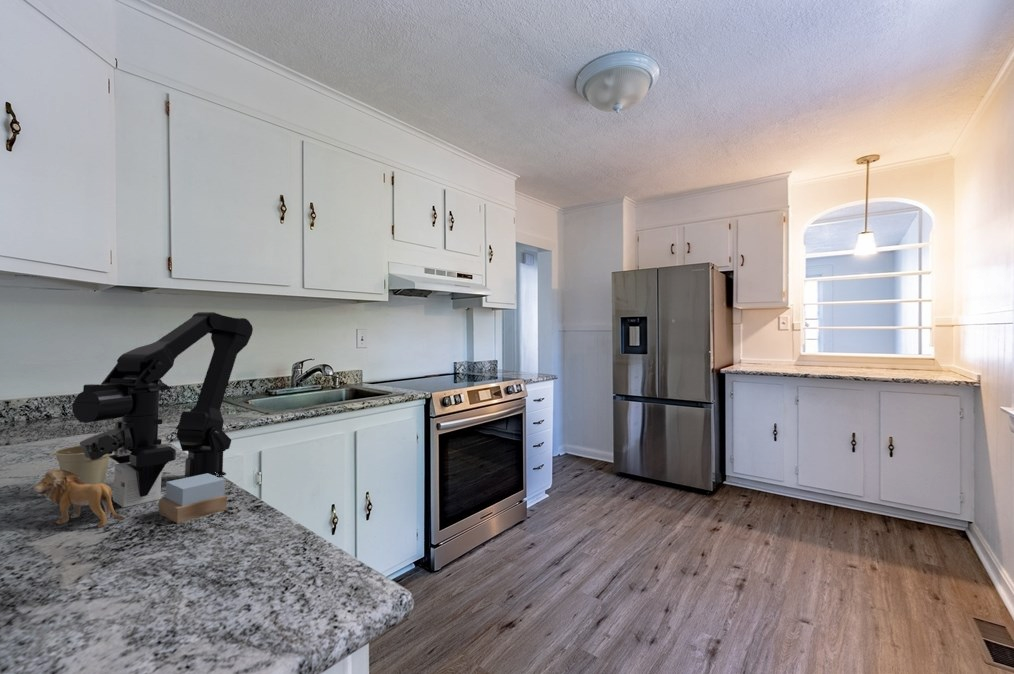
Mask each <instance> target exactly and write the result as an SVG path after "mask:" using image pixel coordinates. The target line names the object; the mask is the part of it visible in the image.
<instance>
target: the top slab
mask: <svg viewBox="0 0 1014 674" xmlns="http://www.w3.org/2000/svg"><path fill="white" fill-rule="evenodd" d="M225 493H226V479H224V478H221V477H220V476H218V477H217V476H214V475H211V474H208V473H207V474H202V475H197V476H192V477H188V478H186V477H183V478H179V479H173V480H169V481H166V483H165V498H167V499H169V500H171V501H173V502H175V503H177V504H179V505H181V506H184V505H188V504H192V503H196V502H200V501H204V500H208V499H212V498H216V497H219V496H223V495H225V496H226V494H225Z"/></svg>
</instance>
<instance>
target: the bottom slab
mask: <svg viewBox="0 0 1014 674" xmlns="http://www.w3.org/2000/svg"><path fill="white" fill-rule="evenodd" d="M227 501H228V496H227V495H226V494H225V495H223V496H219V497H216V498H212V499H208V500H204V501H200V502H196V503H192V504H188V505H184V506H181V505H179V504H177V503H175V502H173V501H171V500H169V499H167V498H166V497H164V498H160V499H159V500H158V514H159V515H160V516H162V517H165V518H166V519H168V520H171V521H172V522H174V523H176V524H180V523H184V522H187V521H190V520H194V519H198V518H202V517H205V516H209V515H213V514H216V513H219V512H223V511H226V510H227V505H228V504H227V503H228V502H227Z"/></svg>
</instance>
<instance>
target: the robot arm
mask: <svg viewBox="0 0 1014 674" xmlns="http://www.w3.org/2000/svg"><path fill="white" fill-rule="evenodd" d="M253 330H254V327H253V325H252V323H251V322H250V320H249V319H247V318H244V317H232V316H226V315H223V314H220V313H216V312H215V311H214V312H213V311H210V312H209V311H206V312H205V311H201V312H200V311H198V312H195V313H194V314H193V315H192V316H191V317H190V318H189V319H187V320H186V321H184V322H183V323H182V324H180V325H179V326H177V327H175V328H173V329H172V330H171V331H170V332H168V333H167V334H165V335H164V336H162V337H161V338H159V339H158V340H156V341H155V342H152V343H150V344H146V345H142V346H138V347H135V348H134V349H130V350H128V351H127V352H126V351H125V352H124V353H122V354H121V355H120V356H119V357H118V358H117V359H116V364H115V366H114V367H113V368H112V369H111V370H110V372H109V373H108V375H106V377H105V378H104V379H103V381H102V382H101V383H100V384H99V383H98V384H97V383H96V384H95V383H94V384H93V383H91V384H89V383H87V384H84V385H83V391H81V392H80V393H79V394H78V395H76V397H75V398H74V400H73V401H74V402H72V404H71V408H72V414H73V416H74V418H75V419H76V420H77V421H79V422H80V423H83V424H88V423H95V422H101V421H108V420H113V419H117V421H115V428H113V429H110V430H107V431H104V432H101V433H98V434H96V435H93V436H90V437H88V438H86V439H83V440H81V441H79V446H81V447H82V450H83V452H84V454H85V456H86V458H90V459H91V460H95V459H99V458H101V457H103V455H105V454H111V455H110V456H109V459H112V460H113V461H115V462H117V464H121V463H128V462H130V464H127V466H129V467H131V468H132V469H134V470H135V471H136V476H137V483H138V489H139V494H140V496H141V497H143V496H147V495H148V493H149V491H150V490H151V488H152V486H153V484H154V483H155V481H156V479H157V478H158V476H159V474H160V473H161V474H162V471H163V469H164V467H166V465H167V463H168V464H169V462H173V461H175V460H176V456H177V454H176V453H177V450H176V449H175V448H173V447H172V446H170V445H167V444H164V443H162V438H159V437H158V436H159V425H162V424H163V419H162V418H160V417H159V412H160V411H159V410H160V406H159V405H160V391H161V392H162V391H168V390H170V386H169V385H167V384H166V383H165V382H163V381H162V379H163V377H165V376H166V374H167V373H168V372H169V371H170V370H171V369H172V368H173V366H174V364H175V360H176V359H177V358H178V356H180V355H181V354H182V353H184V352H185V351H186V350H187V349H189V348H190V347H192V346H193V345H194V344H196V343H197V342H198V341H200V340H201V339H202V338H204V337H205V336H207V334H211V336H210V340H211V343H212V346H213V348H214V349H213V353H212V356H211V358H210V361H209V365H208V368H207V371H206V374H205V377H204V379H203V382H202V386H201V388H200V392H199V395H198V397H197V401H196V404H195V405H194V407H193V408H192V409H191V410H189V411H182V413H181V415H180V416H179V417H180V419H179V422H178V423H177V426H176V427H175V429H176V430H177V432H176V438H177V439H178V442H179V444H180V449H181V451H182V452H188V454H187V458H185V460H184V461H185V462H184V463H185V465H184V466H185V469H184V475H183V477H184V476H185V477H184V478H186V477H187V478H188V477H192V476H197V475H202V474H207V473H208V474H211V475H214V476H216V473H218V474H219V475H221V476H220V477H222V476H223V477H224V476H226V475H227V472H225V471H224V466H223V465H224V452H226V450H229V449H230V447H231V443H232V439H231V438H230V437H229V436H228V434H227V433H226V432H224V431H223V428H224V424H225V423H224V422H225V421H224V418H223V416H222V412H221V408H222V407H221V406H222V404H223V402H224V398H225V394H226V391H227V388H228V386H229V385H228V384H229V382H230V380H231V379H230V378H231V375H232V372H233V369H234V365H235V361H236V359H237V355H238V354H239V353H240V352H241V351H242V350H243V349H244V348H245V347H246V346H247V345H248V343H249V341H250V339H251V337H252V335H253ZM120 418H121V419H120ZM118 419H119V420H118ZM113 452H114V453H113ZM215 472H216V473H215Z"/></svg>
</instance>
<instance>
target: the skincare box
mask: <svg viewBox="0 0 1014 674" xmlns="http://www.w3.org/2000/svg"><path fill="white" fill-rule="evenodd" d="M127 464H130V462H128V463H121V464H119V463H117V464H114V476H113V477H114V478H113V493H112V495H113V497H112V501H113V502H115V503H116V504H117V505H119V506H121V508H127V507H131V506H132V507H133V506H138V505H140V504H145V503H146V504H147V503H151V502H154V501H155V502H156V501H159V499H161V489H162V487H161V486H162V472H161V473H160V474H159V476H158V478H157V479H156V481H155V483H154V484H153V486H152V488H151V490H150V491H149V493H148V495H147V496H143V497H141V496H140V494H139V489H138V483H137V476H136V471H135V470H134V469H132V468H131V467H129V466H127Z"/></svg>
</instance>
